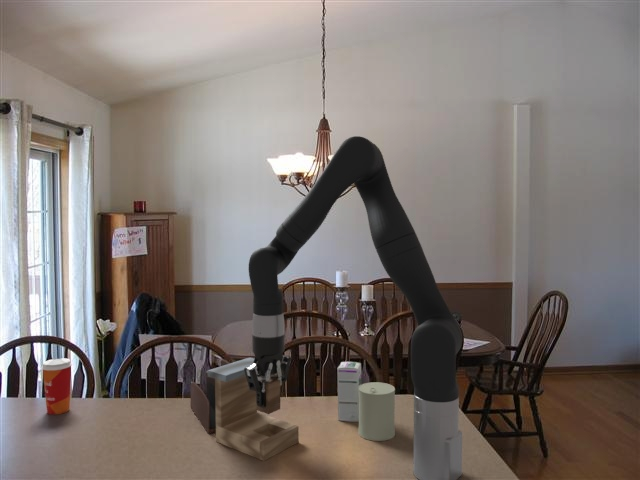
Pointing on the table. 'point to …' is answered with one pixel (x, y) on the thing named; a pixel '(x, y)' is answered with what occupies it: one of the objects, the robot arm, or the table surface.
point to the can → (376, 411)
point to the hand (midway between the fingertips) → (268, 403)
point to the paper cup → (57, 385)
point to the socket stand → (246, 416)
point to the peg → (271, 396)
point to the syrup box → (348, 391)
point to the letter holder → (205, 402)
